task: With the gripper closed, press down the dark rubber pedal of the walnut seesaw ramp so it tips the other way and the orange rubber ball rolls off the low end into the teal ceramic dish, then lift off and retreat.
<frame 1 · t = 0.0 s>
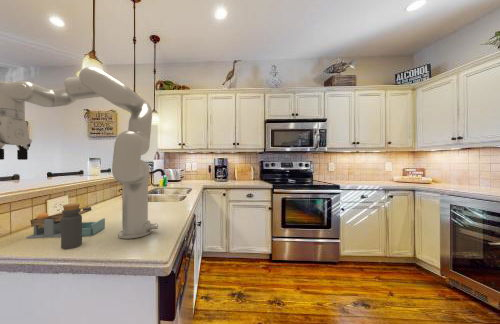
hand: (11, 159, 82), 31 cm above the counter, fingers open, 9 cm apart
ball: (42, 216, 88), point 7 cm above the counter, tilted 13°, touching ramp
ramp: (64, 216, 94), point 6 cm above the counter, hinge at 10.0°, touching ball
bottle: (71, 246, 77), on the counter
tray: (87, 232, 91), on the counter
stand: (56, 233, 89), on the counter
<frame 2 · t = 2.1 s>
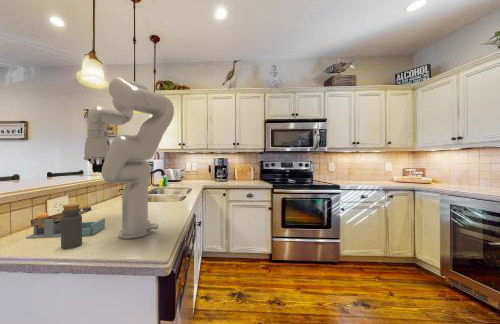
hand: (97, 172, 104), 25 cm above the counter, fingers closed
nothing on the counter moved.
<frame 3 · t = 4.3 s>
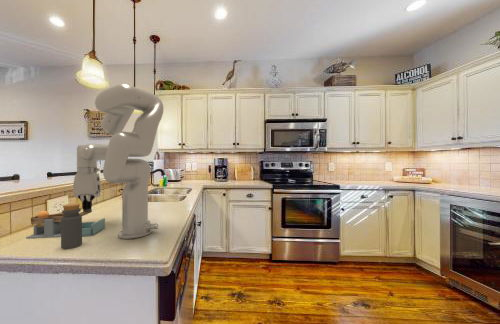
hand: (87, 209, 101), 8 cm above the counter, fingers closed
ball: (43, 215, 88), point 8 cm above the counter, touching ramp
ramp: (64, 216, 94), point 6 cm above the counter, hinge at 2.5°, touching ball, gripper
everything else where it was.
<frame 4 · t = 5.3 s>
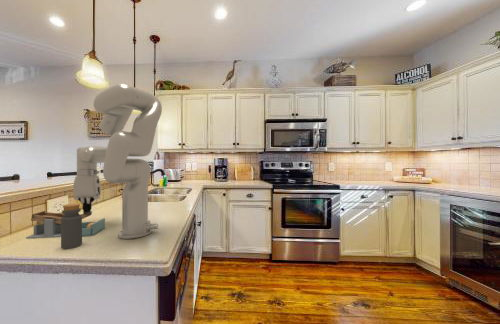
hand: (87, 211, 101), 6 cm above the counter, fingers closed
ball: (92, 226, 91), point 2 cm above the counter, tilted 84°, touching tray
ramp: (64, 216, 94), point 6 cm above the counter, hinge at -9.1°, touching gripper
everything else where it was.
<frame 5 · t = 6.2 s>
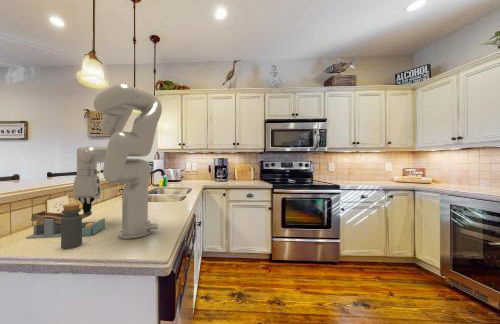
hand: (87, 211, 101), 6 cm above the counter, fingers closed
ball: (90, 226, 91), point 2 cm above the counter, tilted 106°, touching tray
everything else where it was.
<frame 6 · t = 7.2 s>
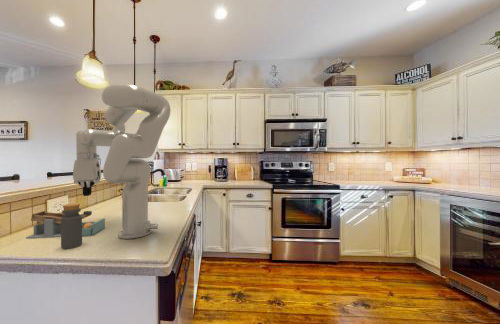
hand: (87, 195, 101), 14 cm above the counter, fingers closed
ball: (88, 227, 91), point 2 cm above the counter, tilted 131°, touching tray
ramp: (64, 216, 94), point 6 cm above the counter, hinge at -9.1°
everything else where it was.
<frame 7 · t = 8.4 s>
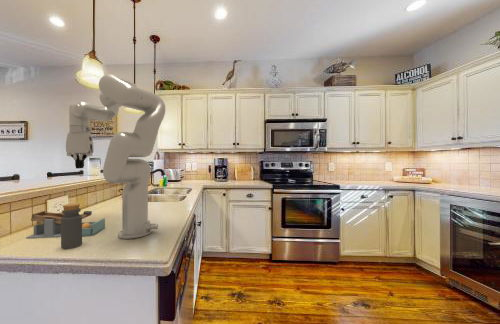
hand: (79, 168, 103), 27 cm above the counter, fingers closed
ball: (86, 227, 91), point 2 cm above the counter, tilted 161°, touching tray
everything else where it was.
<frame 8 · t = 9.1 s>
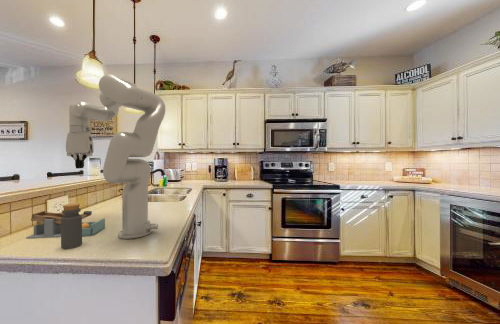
hand: (79, 168, 103), 27 cm above the counter, fingers closed
ball: (84, 227, 91), point 2 cm above the counter, tilted 178°, touching tray
everything else where it was.
at the end: ball inside the target area on the tray (1.1 cm from its centre), point 2.2 cm above the tray's base; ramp at -9° (first picture: +10°) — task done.
